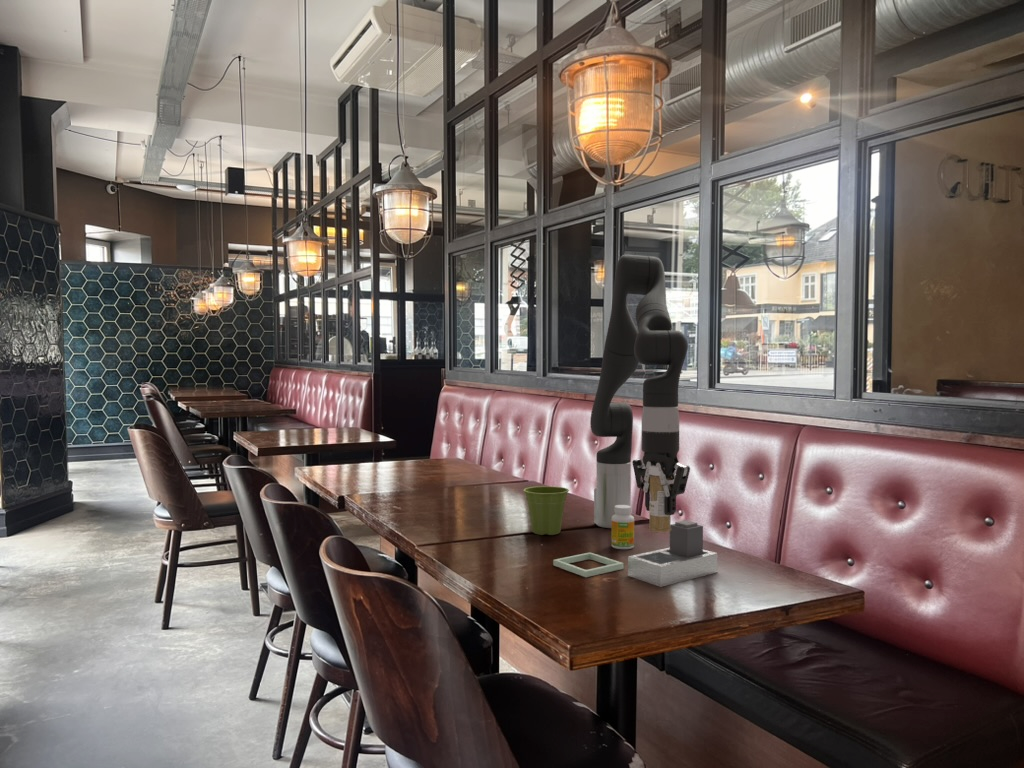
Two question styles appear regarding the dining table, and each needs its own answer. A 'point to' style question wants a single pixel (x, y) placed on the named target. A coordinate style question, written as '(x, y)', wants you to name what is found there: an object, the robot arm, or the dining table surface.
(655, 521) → the sprinkles bottle
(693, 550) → the grey stepped square plug
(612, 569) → the tray frame
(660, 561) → the divided grey caddy
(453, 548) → the dining table surface
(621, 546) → the supplement bottle
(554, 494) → the plant pot
